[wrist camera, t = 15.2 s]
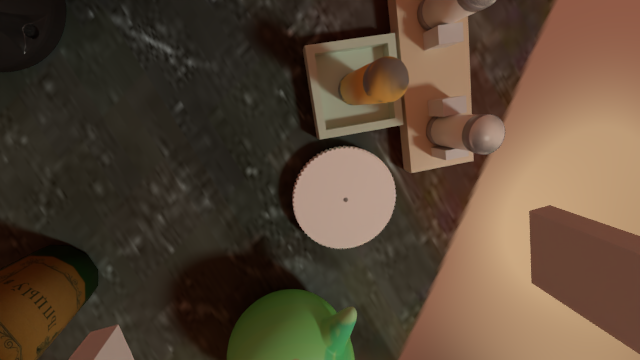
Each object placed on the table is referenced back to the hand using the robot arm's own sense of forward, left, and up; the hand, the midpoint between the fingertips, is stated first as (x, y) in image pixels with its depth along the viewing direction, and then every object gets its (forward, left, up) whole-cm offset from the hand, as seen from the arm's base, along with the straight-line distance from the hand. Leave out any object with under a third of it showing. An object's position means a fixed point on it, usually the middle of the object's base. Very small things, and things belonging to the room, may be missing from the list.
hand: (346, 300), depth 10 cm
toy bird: (+25, -4, -32) cm, 41 cm away
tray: (-7, +10, -32) cm, 34 cm away
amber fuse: (-7, +10, -31) cm, 34 cm away
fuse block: (-7, +20, -32) cm, 38 cm away
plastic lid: (+7, +6, -33) cm, 34 cm away
